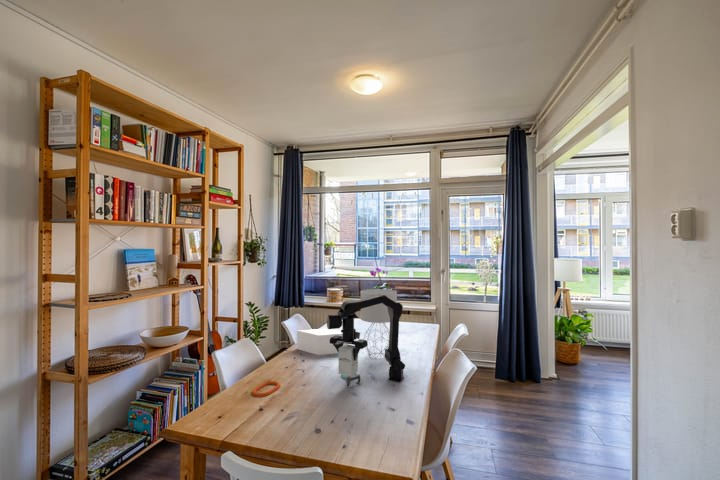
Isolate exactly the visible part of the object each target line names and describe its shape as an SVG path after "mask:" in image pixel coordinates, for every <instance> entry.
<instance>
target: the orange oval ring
mask: <svg viewBox="0 0 720 480" xmlns="http://www.w3.org/2000/svg"><path fill="white" fill-rule="evenodd" d="M269 385H274V386H275V387H273V388H272V389H270V390H268V391H265V392H258V391H259V390H261V389H263V388H264V387H266V386H269ZM280 388H281V383H280V382H278V381H275V380H269V381H265V382H263V383H260V384H259V385H258V386H256V387H255V388H253V389H252V391H251V395H252V396H254V397H259V398H262V397H267V396H270V395H272V394H273V393H275V392H276V391H277V390H279V389H280Z"/></svg>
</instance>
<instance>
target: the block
mask: <svg viewBox="0 0 720 480" xmlns="http://www.w3.org/2000/svg"><path fill="white" fill-rule="evenodd" d="M335 335H337V336H342V332H341V330H336V329H328V328H327V327H325V328H317V329H316V328H312V329H298V330H296V349H297V350H300V351H303V352H306V353H310V354H314V355H316V356H322V355H323V356H324V355H330V354H331V355H333V354H339V353H338V351H337V349H336V348H335V346H333V344H330V338H331V337H333V336H335ZM345 344H347V343H344V344H343V345H345ZM347 345H350V344H347Z"/></svg>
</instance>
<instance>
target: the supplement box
mask: <svg viewBox="0 0 720 480" xmlns="http://www.w3.org/2000/svg"><path fill="white" fill-rule="evenodd" d="M354 347H355V345H353V344H349V345H347V344H345V345H343V346H341V347H340V348H339V353H338V370H337V371H338V373H337V374H339V375H341V374H343V375H348V376H352V375H354V374H355V373H357V372H358V371H359V355H358V356H357V359H356V361H354V356H353V348H354Z"/></svg>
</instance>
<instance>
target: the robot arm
mask: <svg viewBox="0 0 720 480" xmlns="http://www.w3.org/2000/svg"><path fill="white" fill-rule="evenodd" d="M381 303H383V304H384V305H386V306H387V307H388V314H389V317H390V322H389V330H390V331H388V333H389V335H388V340H389V343H388V344H389V345H388V349H385V348H384V354H383V358H385V361H386V362H388V365H390V366H389V369H388V380H389V381H393V382H398V383H401V382H402V381H403V380H404V379H405V376H404V369H405V368H406V364H405V363H404V362H403V361H402V360H401V352H400V349H399V330H400V319H401V317H402V314H403V309H404V306H403V304H402V303H400V302H398V301H397V302H396V301H393V300H391V299H389V298H388V297H387V296H385V295H383V294H380V295H378V296H374V297H370V298H366V299H362V300H361V299H359V300H345V301H343V302H342V304H341V307H340V308H339V310H338V311H337V313H335V314H327V318H326V328H327V329H332V330H336V329H341V330H340V331H341V332H342V336H337V335H335V336H333V337H331V338H330V344H333V346H335V348H336V349H337V351H338V353H337V354H339V348H340V347H341V346H343V344H344V343H347V344H349V345H353V346H355V347H354V348H353V356H354V361H356V359H357V356H358V357H359V353H360V350H361V349H362V350H363V349H366V348H365V347H366V346H367V347H368V346H369V345H368V343H369V341H368V342H367V339H364V340H363V338H360V336H361V332H359V331H357V330H356V328H355V319H359V316H358V315H356V313H357V312H359V311H361V309H362V308H366V307H370V306H373V305H377V304H381ZM341 327H342V328H341Z"/></svg>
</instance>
